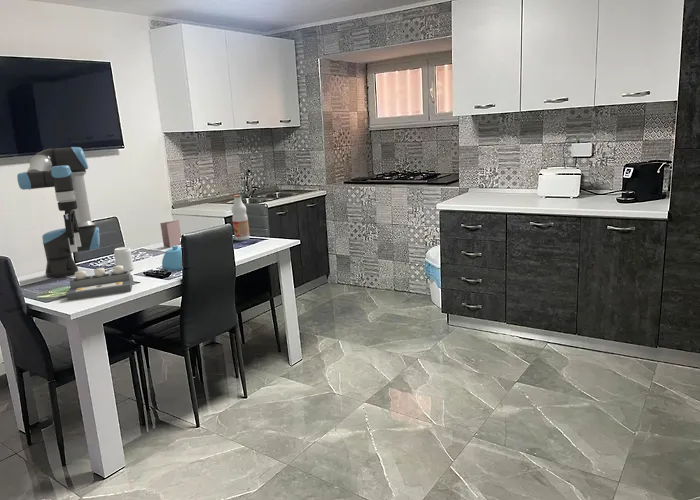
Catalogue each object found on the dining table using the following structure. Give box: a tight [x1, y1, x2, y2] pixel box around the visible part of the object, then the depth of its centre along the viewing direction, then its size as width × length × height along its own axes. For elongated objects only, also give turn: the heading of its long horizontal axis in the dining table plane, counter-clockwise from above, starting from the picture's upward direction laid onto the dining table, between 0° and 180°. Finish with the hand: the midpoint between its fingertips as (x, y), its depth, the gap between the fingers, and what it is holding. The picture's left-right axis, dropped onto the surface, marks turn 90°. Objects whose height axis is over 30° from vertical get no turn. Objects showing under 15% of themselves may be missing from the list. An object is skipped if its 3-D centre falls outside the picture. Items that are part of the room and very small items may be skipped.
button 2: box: [112, 265, 124, 274], centre depth 246 cm, size 4×4×3 cm
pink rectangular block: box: [159, 219, 182, 249], centre depth 328 cm, size 11×7×15 cm, turn 124°
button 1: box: [74, 269, 88, 279], centre depth 241 cm, size 4×4×3 cm
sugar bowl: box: [161, 245, 183, 272], centre depth 274 cm, size 15×15×12 cm
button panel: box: [65, 270, 134, 301], centre depth 242 cm, size 18×26×6 cm
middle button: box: [93, 267, 107, 277], centre depth 244 cm, size 4×4×3 cm
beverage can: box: [113, 246, 135, 272], centre depth 274 cm, size 8×8×12 cm
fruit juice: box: [231, 194, 250, 241], centre depth 332 cm, size 9×9×28 cm
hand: (76, 249), depth 239 cm, fingers open, 11 cm apart
